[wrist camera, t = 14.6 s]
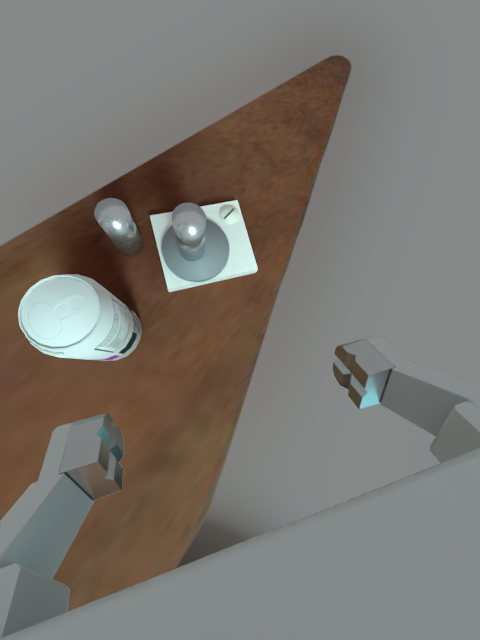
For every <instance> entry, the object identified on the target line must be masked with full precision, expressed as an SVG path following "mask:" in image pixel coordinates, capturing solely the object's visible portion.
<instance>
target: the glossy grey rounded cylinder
mask: <svg viewBox="0 0 480 640" xmlns="http://www.w3.org/2000/svg"><path fill="white" fill-rule="evenodd" d="M172 222H173V227H174V232H175V236H176V241H177V246H178V250H179V253H180V255H181V257H182V258H184V259H185V260H187V261H197V260H200V259H201V258H202V257H203V256H204V254H205V251H206V215H205V212H204V211H203V209H202V208H201V207H200V206H198V205H197V204H194V203H182V204H180V205H178V206H177V207H176V208H175V209H174V211H173V213H172Z"/></svg>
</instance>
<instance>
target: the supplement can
mask: <svg viewBox="0 0 480 640" xmlns="http://www.w3.org/2000/svg"><path fill="white" fill-rule="evenodd" d="M18 317H19V325H20V327H21V329H22V331H23V333H24V334H25V336H26V338H28V340H29V341H30V343H31V344H32V345H33V346H34V347H36V348H37V349H38V350H40V351H41V352H42V353H45V354H48V355H52V356H55V357H59V358H73V359H86V360H100V361H113V360H119V359H121V358H124V357H126V356H128V355H129V354H130V353H131V352H132V351H134V350H135V348H136V347H137V345H138V343H139V342H140V339H141V333H142V328H141V323H140V320H139V318H138V317H137V315H136V313H135V312H134V311H132V310H131V309H130V308H129V307H127V306H126V305H125V304H124V303H122V302H121V301H120V300H119V299H117V298H116V297H115V296H114V295H113V294H111V293H110V292H109V291H108V290H106V289H105V288H104V287H103V286H101V285H100V284H98V283H97V282H96V281H94V280H93V279H92V278H88V277H85V276H82V275H79V274H63V275H54V276H51V277H48V278H45V279H42V280H40V281H39V282H38V283H36V284H35V285H33V286H32V287H31V288H29V290H28V291H27V293H26V294H25V296H24V297H23V298H22V300H21V303H20V307H19V311H18Z"/></svg>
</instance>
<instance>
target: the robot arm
mask: <svg viewBox="0 0 480 640" xmlns="http://www.w3.org/2000/svg"><path fill="white" fill-rule="evenodd" d="M335 355H336V356H337V359H336V360H335V361H334V363H333V371H334V375H335V377H336V379H337V381H338V382H339V384H340V385H341V386H342V387H344V388H347V389H348V395H349V397H350V398H351V399H352V401H353V402H354V403H355V405H356V406H357V407H358V408H359V409H363V408H365V407H369V406H372V405H376V404H379V403H381V405H382V406H384V407H386V408H388V409H390V410H391V411H393V412H395V413H396V414H398V415H400V416H402V417H404V418H405V419H407V420H408V421H410V422H412V423H414V424H415V425H417V426H419V427H420V428H422V429H424V430H426V431H428V432H429V433H431V434H433V435H434V436H436V438H435V439H434V441H433V442H432V444H431V446H430V451H431V452H432V454H433V455H434V456H435V457H436V458H437V459H438V461H439V462H440V464H437V465H435V466H432V467H430V468H427V469H425V470H422V471H420V472H417V473H415V474H412V475H409V476H407V477H404V478H402V479H399V480H397V481H395V482H392V483H389V484H387V485H384V486H382V487H380V488H377V489H374V490H372V491H369V492H367V493H364V494H362V495H359V496H357V497H355V498H352V499H349V500H347V501H344V502H342V503H339V504H337V505H334V506H332V507H329V508H327V509H324V510H322V511H319V512H317V513H314V514H312V515H309V516H307V517H304V518H302V519H299V520H297V521H294V522H291V523H289V524H287V525H284V526H281V527H279V528H277V529H274V530H271V531H269V532H266V533H264V534H261V535H259V536H256V537H254V538H251V539H249V540H246V541H244V542H241V543H239V544H236V545H234V546H231V547H229V548H226V549H224V550H221V551H219V552H217V553H214V554H211V555H209V556H206V557H204V558H202V559H199V560H196V561H194V562H191V563H189V564H186V565H184V566H181V567H179V568H176V569H174V570H171V571H169V572H166V573H163V574H161V575H158V576H156V577H153V578H151V579H148V580H146V581H143V582H141V583H138V584H136V585H133V586H131V587H128V588H126V589H123V590H121V591H118V592H116V593H113V594H111V595H108V596H106V597H103V598H101V599H98V600H96V601H93V602H91V603H88V604H86V605H83V606H81V607H78V608H76V609H73V610H71V611H68V612H67V609H68V602H69V595H70V589H69V588H68V586H67V585H64V584H62V583H60V582H58V581H55V580H53V577H54V575H55V573H56V571H57V570H58V568H59V566H60V564H61V562H62V560H63V558H64V557H65V555H66V553H67V551H68V549H69V547H70V545H71V544H72V542H73V540H74V538H75V536H76V534H77V533H78V531H79V529H80V527H81V525H82V523H83V521H84V520H85V518H86V516H87V514H88V512H89V510H90V508H91V507H92V505H93V503H94V501H93V500H96V499H99V498H101V497H104V496H107V495H110V494H112V493H115V492H118V491H120V490H122V483H123V467H122V466H121V465H120V463H119V462H120V461H121V459H122V458H123V456H124V447H125V446H124V439H123V435H122V432H121V430H120V429H119V427H117V426H114V425H113V418H112V417H111V415H110V414H109V413H107V414H103V415H99V416H95V417H91V418H88V419H84V420H80V421H76V422H73V423H70V424H66V425H62V426H59V427H56V428H55V430H54V431H53V433H52V436H51V439H50V442H49V445H48V449H47V452H46V455H45V459H44V462H43V465H42V469H41V472H40V475H39V479H38V481H37V482H34V483H32V484H31V485H30V486H29V488H28V489H27V490H26V491H25V492H24V493H23V495H22V496H21V497H20V498H19V499H18V501H17V502H16V503H15V504H14V505H13V507H12V508H11V509H10V510H9V511H8V513H7V514H6V515H5V516H4V517H3V518H2V520H1V521H0V640H480V386H478V385H475V384H472V383H469V382H467V381H464V380H461V379H458V378H455V377H453V376H450V375H447V374H444V373H441V372H439V371H436V370H433V369H430V368H427V367H424V366H422V365H419V364H416V363H408V362H407V361H406V360H405V359H403V358H402V357H401V356H400V355H399V354H398V353H397V352H396V351H394V350H393V349H392V348H391V347H390V346H389V345H388V344H386V343H385V342H384V341H383V340H382V339H381V338H380V337H378V336H376V335H373V336H369V337H366V338H363V339H359V340H355V341H352V342H349V343H346V344H342V345H339V346H338V347H337V348H336V350H335Z"/></svg>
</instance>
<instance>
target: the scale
mask: <svg viewBox="0 0 480 640" xmlns="http://www.w3.org/2000/svg"><path fill="white" fill-rule="evenodd" d="M201 208H202V209H203V211H204V212H205V215H206V251H205V254H204V256H203V257H202V258H201V259H200V260H197V261H187V260H185V259H184V258H182V257H181V255H180V253H179V250H178V246H177V241H176V236H175V232H174V227H173V222H172V213H173V212H167V213H162V214H156V215H150V219H151V223H152V227H153V231H154V235H155V239H156V243H157V247H158V251H159V256H160V260H161V264H162V268H163V272H164V276H165V280H166V284H167V288H168V291H169V292H173V291H177V290H181V289H186V288H190V287H195V286H199V285H203V284H208V283H212V282H217V281H221V280H225V279H230V278H234V277H239V276H243V275H247V274H252V273H256V272H257V270H258V268H257V264H256V261H255V258H254V254H253V251H252V248H251V244H250V241H249V237H248V234H247V231H246V227H245V224H244V221H243V217H242V214H241V211H240V207H239V204H238V200H235V201H229V202H224V203H218V204H212V205H207V206H201Z"/></svg>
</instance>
